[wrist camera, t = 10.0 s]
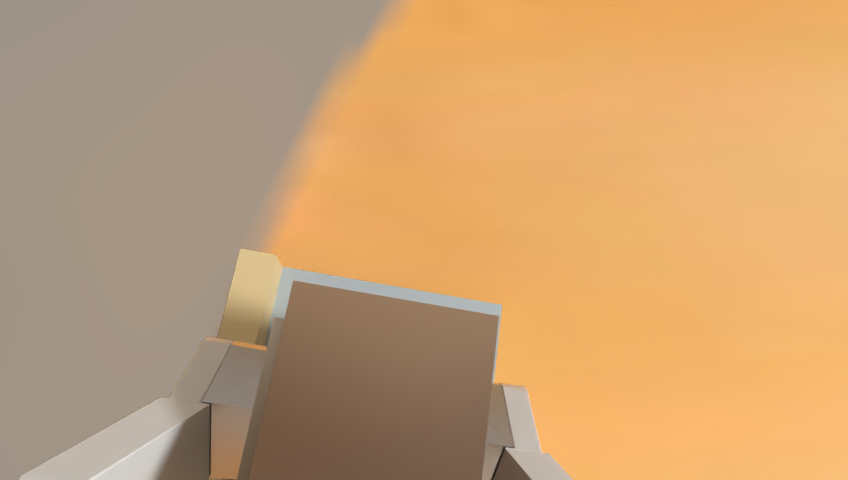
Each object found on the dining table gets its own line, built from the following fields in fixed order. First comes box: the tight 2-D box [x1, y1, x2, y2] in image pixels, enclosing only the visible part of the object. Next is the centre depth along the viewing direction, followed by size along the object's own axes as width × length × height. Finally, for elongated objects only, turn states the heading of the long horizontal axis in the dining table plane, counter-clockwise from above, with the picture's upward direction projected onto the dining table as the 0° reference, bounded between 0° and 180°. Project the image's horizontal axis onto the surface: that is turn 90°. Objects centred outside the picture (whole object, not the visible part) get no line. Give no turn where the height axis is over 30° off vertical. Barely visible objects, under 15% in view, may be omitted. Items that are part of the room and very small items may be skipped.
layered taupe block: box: [237, 280, 499, 480], centre depth 11 cm, size 5×3×8 cm, turn 172°
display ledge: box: [209, 249, 502, 480], centre depth 16 cm, size 9×8×4 cm
